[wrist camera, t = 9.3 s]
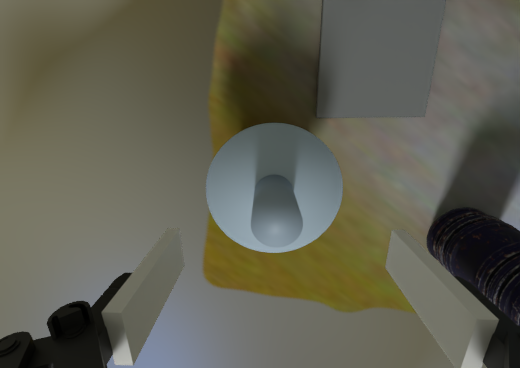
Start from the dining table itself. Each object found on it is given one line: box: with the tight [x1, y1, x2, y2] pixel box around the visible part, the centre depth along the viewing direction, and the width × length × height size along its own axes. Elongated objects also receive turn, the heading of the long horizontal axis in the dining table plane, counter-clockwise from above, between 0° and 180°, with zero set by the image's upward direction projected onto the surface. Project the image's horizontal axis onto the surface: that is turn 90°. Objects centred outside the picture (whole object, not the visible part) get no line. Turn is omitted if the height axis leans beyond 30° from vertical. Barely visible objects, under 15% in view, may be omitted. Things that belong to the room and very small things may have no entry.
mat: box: [316, 0, 446, 118], centre depth 31 cm, size 14×14×1 cm
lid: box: [206, 123, 343, 253], centre depth 23 cm, size 14×14×8 cm
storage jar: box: [427, 208, 520, 326], centre depth 32 cm, size 10×10×15 cm
